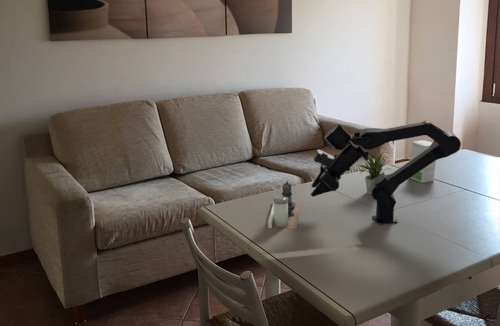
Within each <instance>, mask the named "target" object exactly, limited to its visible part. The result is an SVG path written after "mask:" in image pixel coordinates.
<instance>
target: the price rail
mask: <svg viewBox="0 0 500 326" xmlns="http://www.w3.org/2000/svg"><path fill="white" fill-rule="evenodd" d="M277 196H278V195H277ZM277 196H274V197H277ZM272 203H273V204H272V206H271V210H270V214H269V216H268V220H267V229H273V228H272V224H273V220H274V202H272Z"/></svg>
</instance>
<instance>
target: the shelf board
mask: <svg viewBox="0 0 500 326" xmlns="http://www.w3.org/2000/svg"><path fill="white" fill-rule="evenodd" d="M293 202H294V203H295V204H296V205H295V208H294V210H293V211H292V212H293V213H295V215H294V216H292V217H288V226H286V227H276V226H274V220H273V224H272V228H271V229H282V230H284V229H285V230H287V229H289V230H297V228H298V221H299V213H300V206H301V202H300V201H293Z"/></svg>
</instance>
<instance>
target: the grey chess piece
mask: <svg viewBox="0 0 500 326" xmlns="http://www.w3.org/2000/svg"><path fill="white" fill-rule="evenodd" d="M292 195H293V192H292V185H291V183H289V181H288V180H286V181H285V183H283V184H282V193H281V196H285V197H288V217H292V216H294V215H295V213H293V212H292V211H293V210H294V208H295V205H296V204H295V203H294V202H295V201H293V200H292Z"/></svg>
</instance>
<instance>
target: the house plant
mask: <svg viewBox="0 0 500 326" xmlns="http://www.w3.org/2000/svg"><path fill="white" fill-rule="evenodd" d="M387 158H388V156H386V154H384V151H381V152H380V154H379V152H377V153H376V155H375V157H374V159H373V158H372V156H371V155H370V154H368V160H365V159H364V158H363V161H365V162H364V164H356V166H357V168H358V169H359V168H362V169H359V174H361V173H363V172H366V173H368V175H365V177H364V179H365V186H366V193H367V195H371V196H372V194H371V189H370V185H371V183H372V182H373V181H374V180H373V178H376V177H378V176H379V175H380V174H381V173H383V172H384V171H386V170H391V168H390V167H389V168H385V169H383V167H384V166H385V165H386V164H387V163H388V162H390V159H389V160H387ZM386 160H387V161H386Z"/></svg>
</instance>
